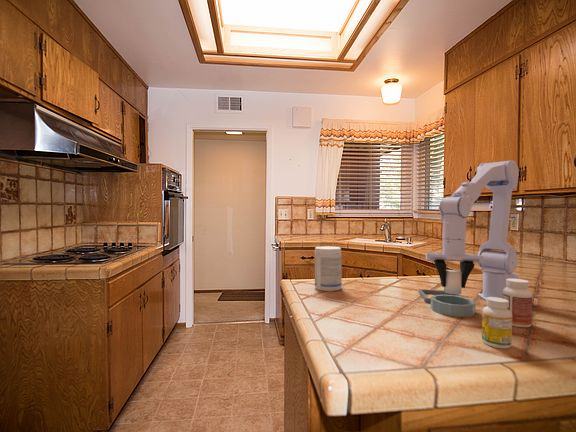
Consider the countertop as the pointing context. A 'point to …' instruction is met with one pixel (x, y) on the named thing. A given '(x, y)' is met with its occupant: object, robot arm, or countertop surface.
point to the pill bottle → (519, 301)
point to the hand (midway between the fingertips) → (452, 286)
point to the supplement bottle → (497, 323)
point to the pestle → (453, 282)
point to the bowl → (453, 305)
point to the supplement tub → (328, 268)
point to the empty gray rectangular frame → (433, 293)
